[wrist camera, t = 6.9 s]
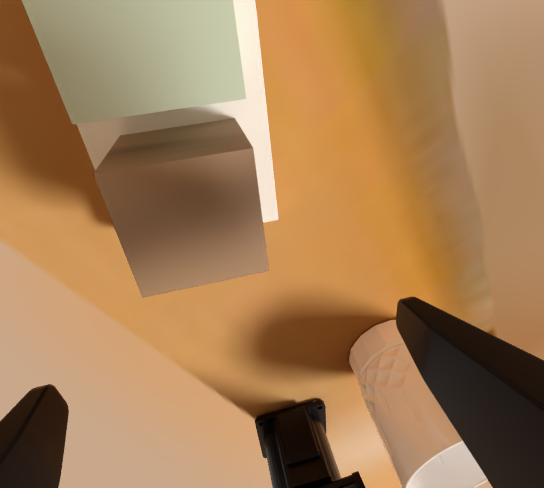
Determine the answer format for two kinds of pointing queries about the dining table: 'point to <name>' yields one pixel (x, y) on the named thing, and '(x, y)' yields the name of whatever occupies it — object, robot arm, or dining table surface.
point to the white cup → (409, 415)
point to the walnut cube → (185, 205)
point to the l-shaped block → (157, 70)
